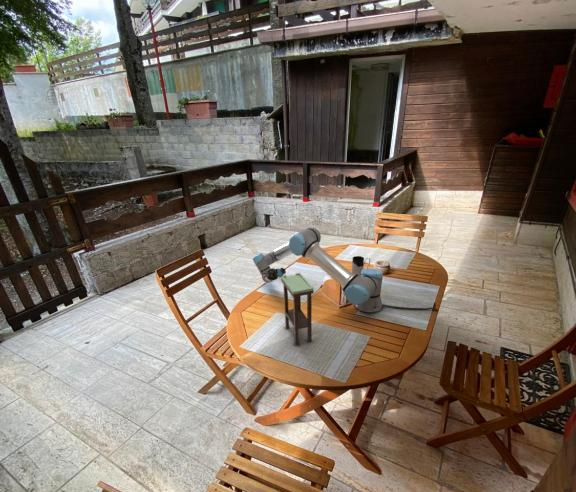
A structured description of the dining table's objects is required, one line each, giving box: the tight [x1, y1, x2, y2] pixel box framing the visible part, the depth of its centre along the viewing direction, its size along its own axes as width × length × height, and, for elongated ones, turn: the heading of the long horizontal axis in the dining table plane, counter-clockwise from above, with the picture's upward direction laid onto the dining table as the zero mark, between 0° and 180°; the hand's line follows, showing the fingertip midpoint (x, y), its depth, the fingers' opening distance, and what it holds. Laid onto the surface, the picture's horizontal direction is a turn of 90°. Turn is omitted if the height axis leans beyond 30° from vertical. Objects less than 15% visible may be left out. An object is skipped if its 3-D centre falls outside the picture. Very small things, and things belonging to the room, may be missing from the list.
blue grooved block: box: [274, 267, 284, 284], centre depth 173 cm, size 24×3×1 cm, turn 18°
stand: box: [280, 278, 315, 346], centre depth 156 cm, size 18×10×30 cm, turn 18°
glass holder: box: [350, 255, 371, 277], centre depth 214 cm, size 9×14×15 cm, turn 113°
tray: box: [281, 272, 314, 294], centre depth 148 cm, size 18×10×1 cm, turn 18°
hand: (280, 270), depth 175 cm, fingers closed on blue grooved block, 3 cm apart
